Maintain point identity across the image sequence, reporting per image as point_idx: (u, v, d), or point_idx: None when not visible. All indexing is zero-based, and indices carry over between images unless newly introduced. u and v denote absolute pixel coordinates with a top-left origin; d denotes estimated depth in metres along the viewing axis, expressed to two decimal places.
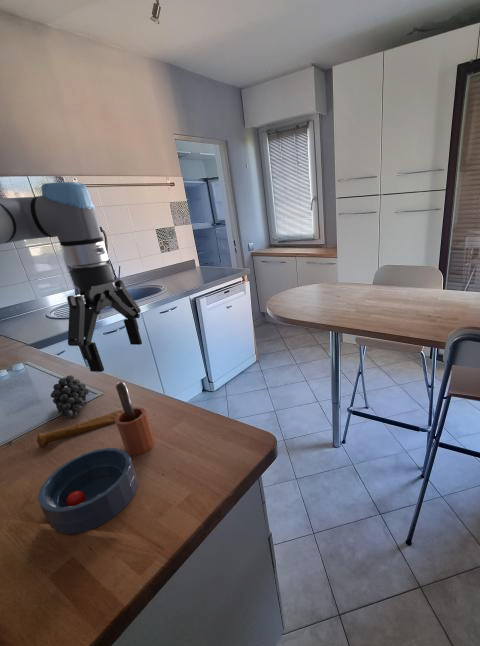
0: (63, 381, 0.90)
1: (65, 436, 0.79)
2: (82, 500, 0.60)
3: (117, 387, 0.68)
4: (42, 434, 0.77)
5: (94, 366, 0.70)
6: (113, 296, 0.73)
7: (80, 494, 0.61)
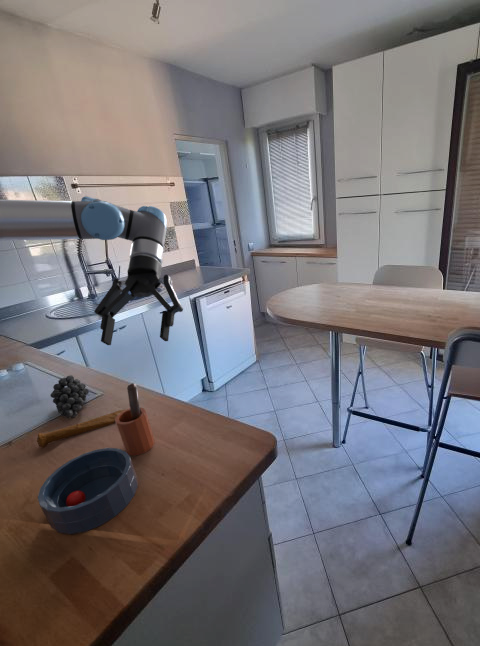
0: (63, 381, 0.90)
1: (65, 436, 0.79)
2: (82, 500, 0.60)
3: (128, 388, 0.68)
4: (42, 434, 0.77)
5: (166, 333, 0.76)
6: None
7: (80, 494, 0.61)
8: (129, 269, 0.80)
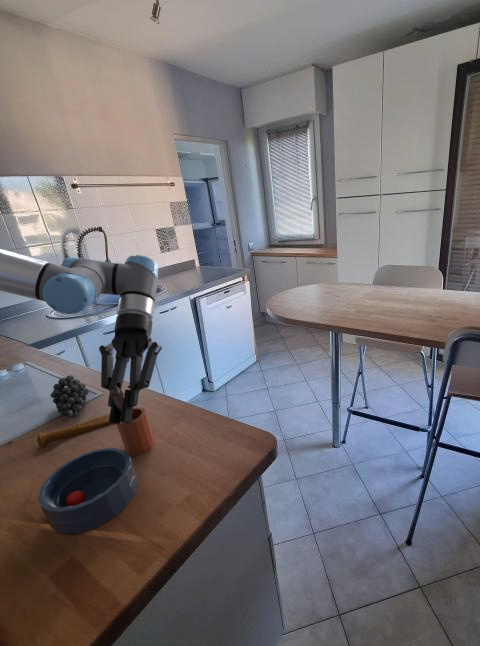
0: (63, 381, 0.90)
1: (65, 436, 0.79)
2: (82, 500, 0.60)
3: (112, 394, 0.66)
4: (42, 434, 0.77)
5: (128, 416, 0.68)
6: None
7: (80, 494, 0.61)
8: (116, 328, 0.73)
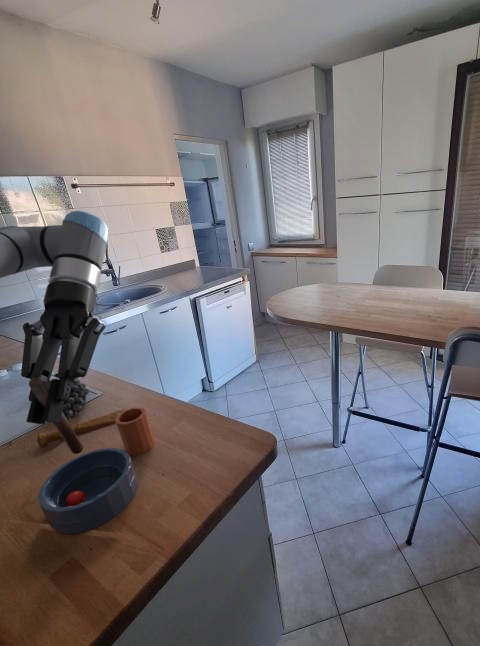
0: None
1: None
2: (82, 500, 0.60)
3: (30, 385, 0.50)
4: (42, 434, 0.77)
5: (55, 413, 0.52)
6: None
7: (80, 494, 0.61)
8: (44, 300, 0.56)
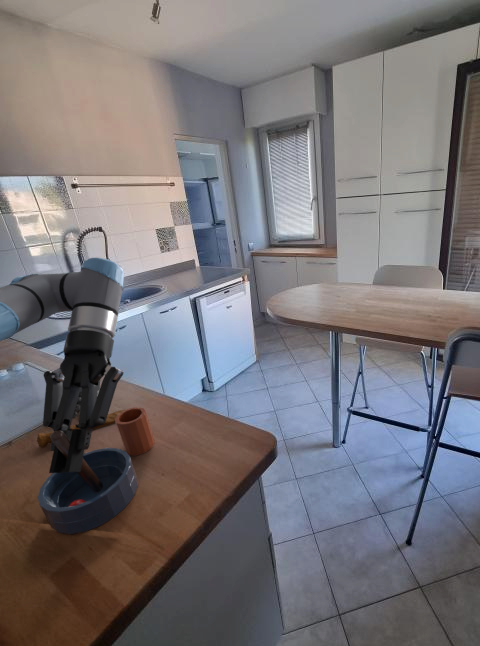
0: (63, 381, 0.90)
1: None
2: None
3: (52, 439, 0.51)
4: (42, 434, 0.77)
5: (76, 463, 0.54)
6: None
7: None
8: (64, 349, 0.58)
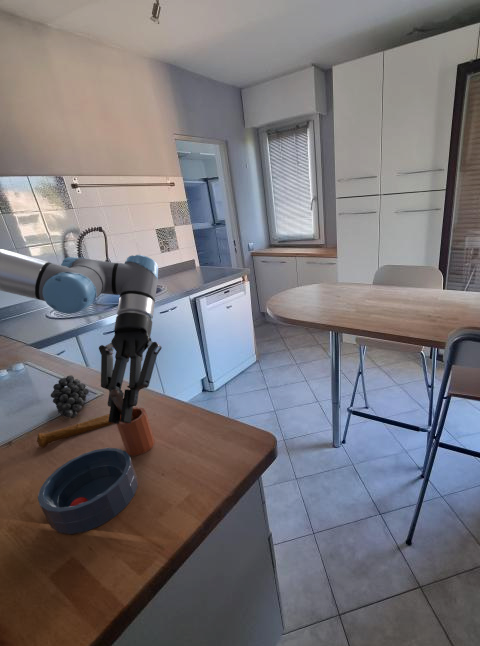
0: (63, 381, 0.90)
1: (65, 436, 0.79)
2: None
3: (111, 395, 0.66)
4: (42, 434, 0.77)
5: (128, 415, 0.68)
6: None
7: None
8: (116, 328, 0.73)
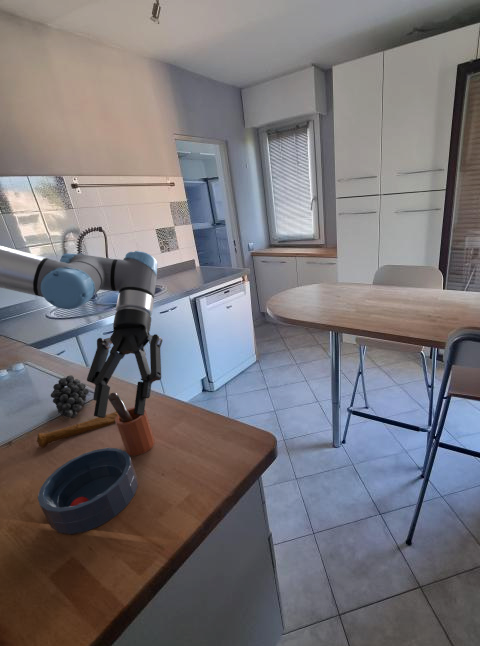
0: (63, 381, 0.90)
1: (65, 436, 0.79)
2: None
3: (110, 399, 0.66)
4: (42, 434, 0.77)
5: (141, 408, 0.68)
6: None
7: None
8: (115, 324, 0.72)
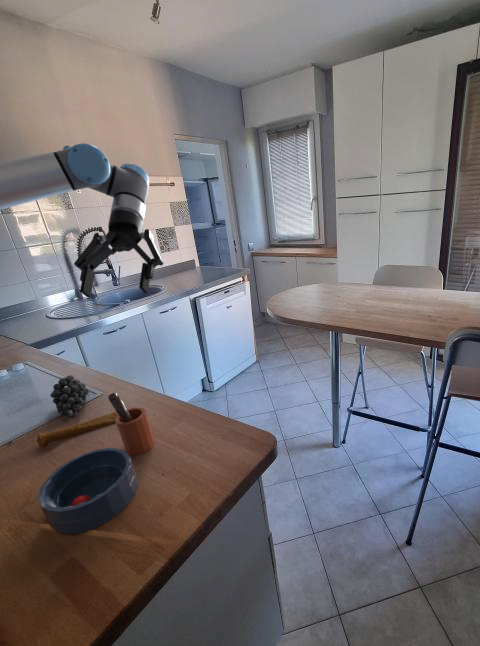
0: (63, 381, 0.90)
1: (65, 436, 0.79)
2: None
3: (110, 399, 0.66)
4: (42, 434, 0.77)
5: (145, 285, 0.77)
6: None
7: None
8: (109, 222, 0.80)
